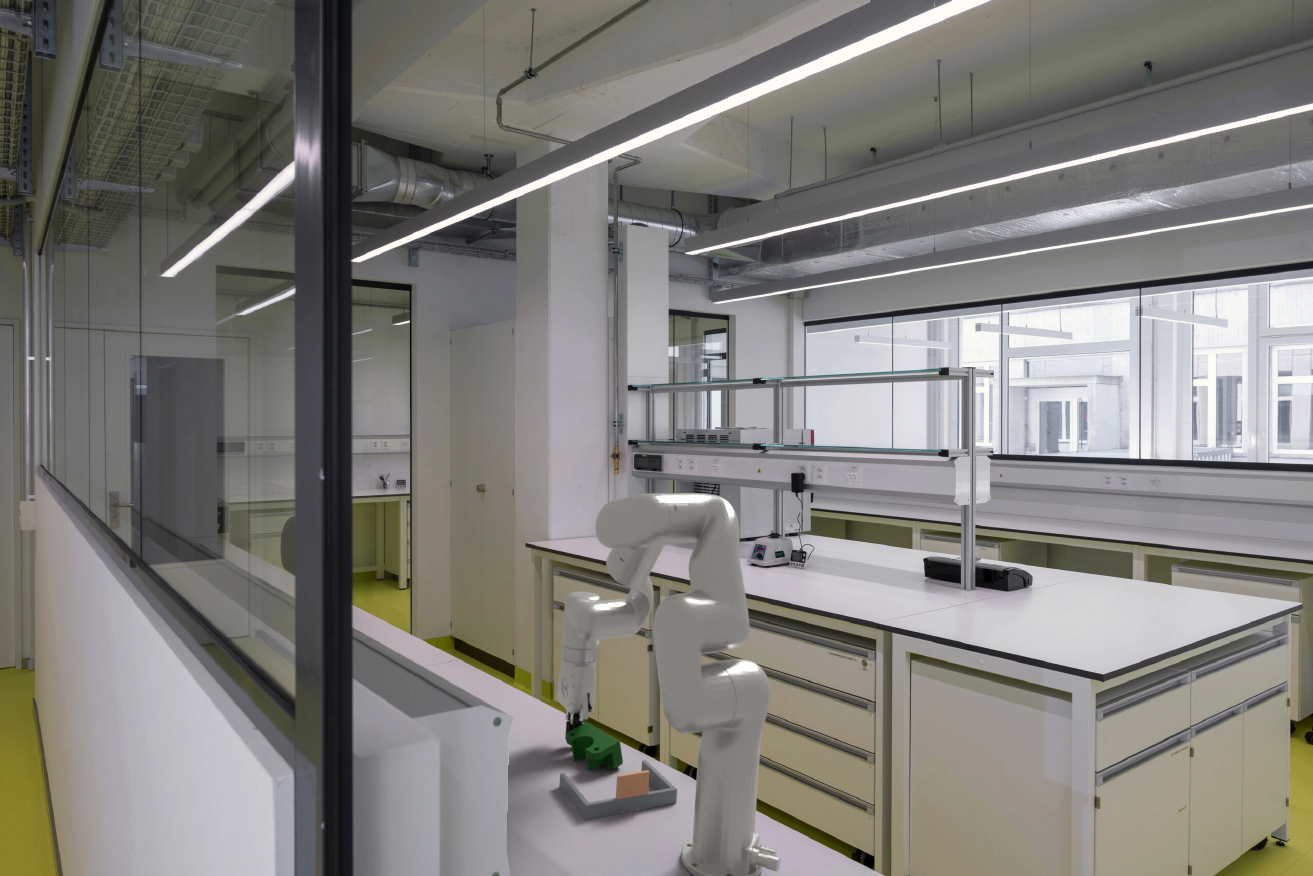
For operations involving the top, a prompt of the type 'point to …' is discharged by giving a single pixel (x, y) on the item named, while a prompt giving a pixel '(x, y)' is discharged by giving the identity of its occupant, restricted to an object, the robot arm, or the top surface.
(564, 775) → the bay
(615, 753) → the clamp
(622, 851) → the top surface
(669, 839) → the top surface
